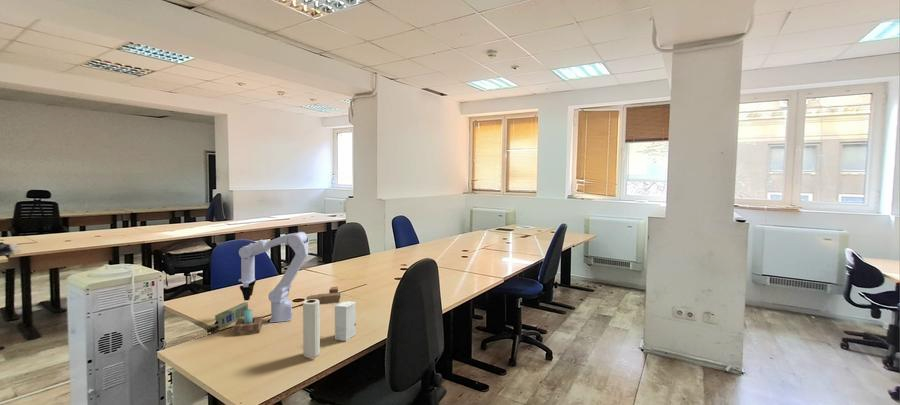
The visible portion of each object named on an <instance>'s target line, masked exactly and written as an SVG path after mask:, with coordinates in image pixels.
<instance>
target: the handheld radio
mask: <svg viewBox="0 0 900 405" xmlns="http://www.w3.org/2000/svg"><path fill="white" fill-rule="evenodd" d="M248 309H249V302H247V301H246V302H245V301H244V302H242V303H240V304H238V305H235V306H233V307H230V308H229V309H226V310H224V311H221V312H219V313H218V314H215V315H214V320H215V321H214V325H215V326H214V327H212V328H209V329H207V330H206V333H207V334H209V333H212V332H213V331H215V330H221V329H223V327H224V328H225V326H226V327H227V325H228V326H230V325H231V324H233V323H236V322H237V320H238V319H242V318H244V310H248Z"/></svg>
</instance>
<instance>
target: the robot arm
mask: <svg viewBox="0 0 900 405" xmlns="http://www.w3.org/2000/svg"><path fill="white" fill-rule="evenodd" d="M309 243H310V238H309V235H308V234H307V233H306V232H304V231H299V232H294V233H287V234H285V235H282V236H279V237H277V238H273V239H271V240H266V239H260V240H258V241H257V242H254V243H252V242H251V243H249V244H248V245H244V246H242V247H241V248H239V250H238V255H239V257H240V258H241V260H240V262H241V264H240V266H241V268H240V271H241V275H240V276H241V278H238V282H241V283H242V285H239V289H240V291H241V293H242V296H243V301H244V302H245V301H250V299H251V296H253V293H254V292H253V291H254V286H255V284H256V282H257V280H256V277H255V276H256V275H255V272H256V270H255V268H256V267H255V264H256V263H255V262H256V260H255V256H257V255H260V254H264V253H266V252H268V251H270V249H271V248H273V247H277V246H280V245H282V244H284V245H286V246H289V247H290V248H291V249H292V250H293V252H294V253H295V255H294V257H293V258H292V260H291V262H290V264H289V265H288V266H287V269H286V270H285V273H284V274H283V276H282V277H281V279H280V281H279V283H278V284H276V286H275V287H274V289H273V290H271V291H270V292H269V293H268V300H269V301H270V305H271V306H270V308H271V309H270V311H271V312H270V313H271V314H270V319H269V323H278V322H290V321H292V317H293V301H292V300H289V299H288V296H289V295H290V289H291V287H292V286H291V285H292V282H293V281H294V280H295V278H296V276H297V274H298V272H299V271H300V269H301V268H302V266H303V264H304V263H305V261H306V260H307V257H308V255H309Z"/></svg>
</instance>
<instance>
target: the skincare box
mask: <svg viewBox="0 0 900 405" xmlns="http://www.w3.org/2000/svg"><path fill="white" fill-rule="evenodd" d="M356 307H357V302H356V301H349V300H347V301H345V300H344V301H342V302H339V303H337V304H336V305H334V340H337V341H342V342H347V341H348V340H350V339H351V338H353V337H354V336H356V335H357V308H356Z"/></svg>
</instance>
